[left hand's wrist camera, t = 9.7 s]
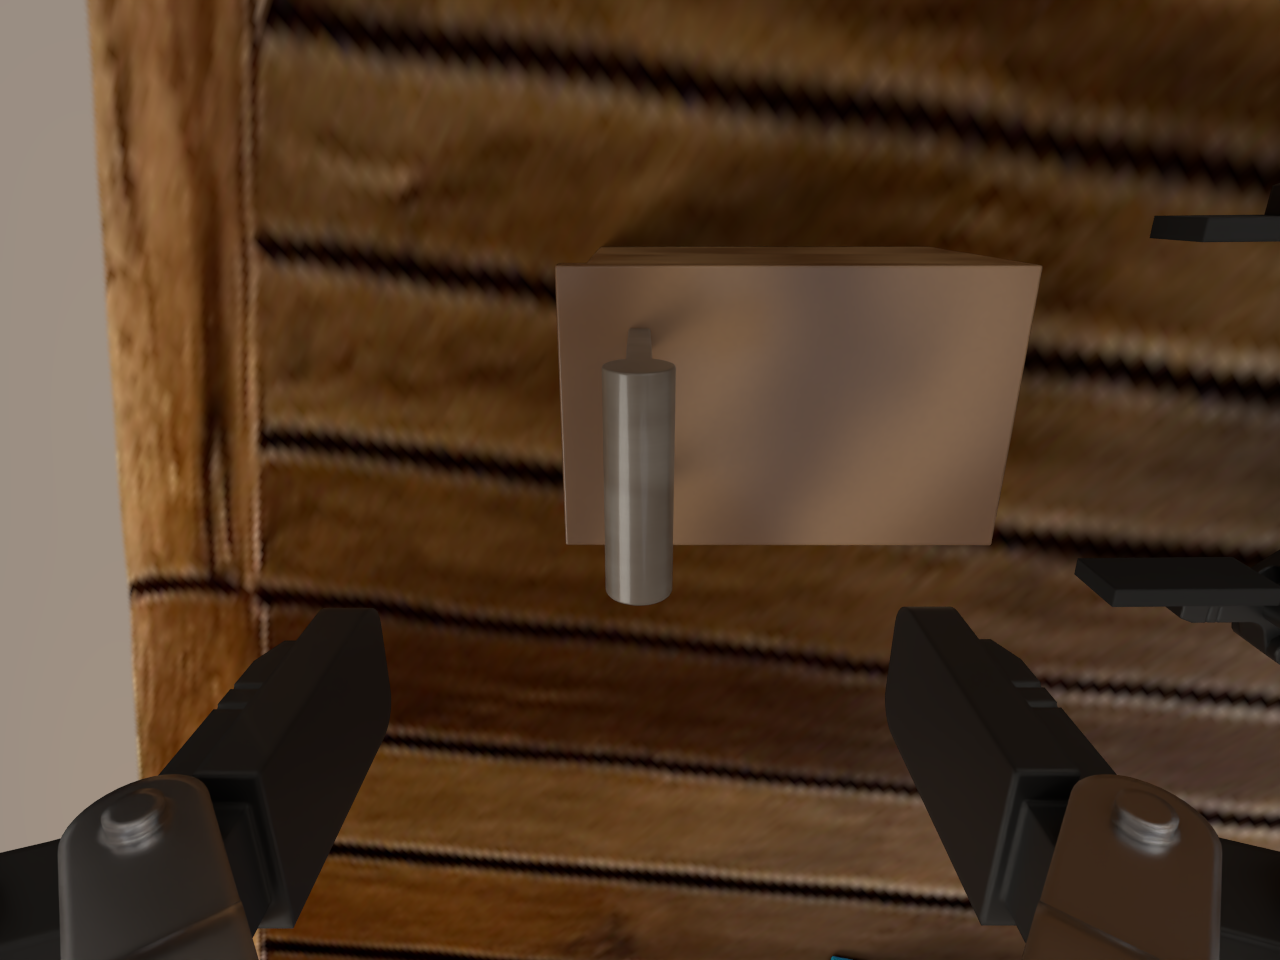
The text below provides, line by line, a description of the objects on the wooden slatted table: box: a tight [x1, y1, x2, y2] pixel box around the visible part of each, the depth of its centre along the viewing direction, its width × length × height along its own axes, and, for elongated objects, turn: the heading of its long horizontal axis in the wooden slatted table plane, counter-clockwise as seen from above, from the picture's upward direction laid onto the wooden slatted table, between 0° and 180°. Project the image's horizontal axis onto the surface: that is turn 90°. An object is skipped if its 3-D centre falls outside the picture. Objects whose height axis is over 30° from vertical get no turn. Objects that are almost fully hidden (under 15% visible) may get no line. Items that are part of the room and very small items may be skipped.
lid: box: [555, 263, 1042, 605], centre depth 21 cm, size 15×10×8 cm, turn 90°
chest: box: [587, 247, 1024, 263], centre depth 29 cm, size 14×10×9 cm
